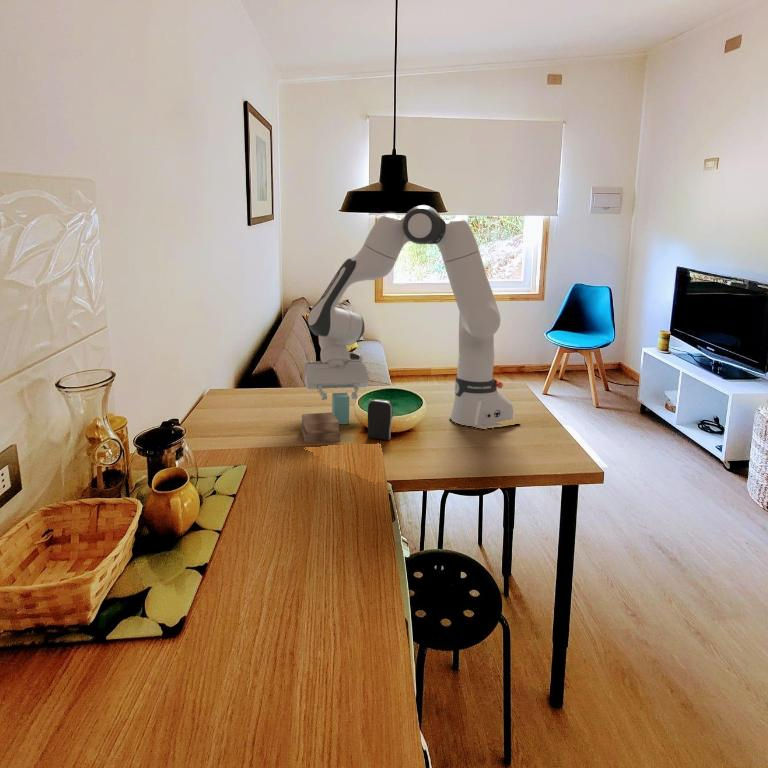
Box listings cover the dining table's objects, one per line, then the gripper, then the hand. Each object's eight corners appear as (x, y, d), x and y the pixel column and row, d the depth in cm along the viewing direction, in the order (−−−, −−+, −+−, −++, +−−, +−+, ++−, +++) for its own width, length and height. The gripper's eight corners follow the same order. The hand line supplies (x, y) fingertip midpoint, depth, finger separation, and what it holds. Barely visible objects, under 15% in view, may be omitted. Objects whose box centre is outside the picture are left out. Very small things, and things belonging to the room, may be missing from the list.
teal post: (346, 420, 191) (346, 392, 189) (348, 424, 187) (349, 396, 185) (332, 420, 190) (332, 393, 188) (334, 425, 186) (334, 397, 183)
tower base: (334, 431, 182) (334, 421, 181) (340, 442, 173) (340, 432, 172) (300, 432, 180) (300, 423, 179) (305, 444, 170) (305, 434, 170)
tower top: (331, 422, 181) (331, 412, 180) (338, 431, 173) (338, 421, 172) (301, 423, 178) (301, 414, 177) (307, 433, 170) (307, 423, 169)
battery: (393, 437, 177) (394, 399, 174) (389, 441, 174) (390, 403, 171) (370, 433, 179) (371, 396, 176) (366, 438, 176) (367, 400, 173)
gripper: (303, 356, 190) (307, 394, 183) (367, 355, 195) (372, 392, 188) (301, 367, 195) (305, 404, 188) (363, 365, 200) (369, 402, 193)
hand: (339, 398), depth 188 cm, fingers open, 8 cm apart
